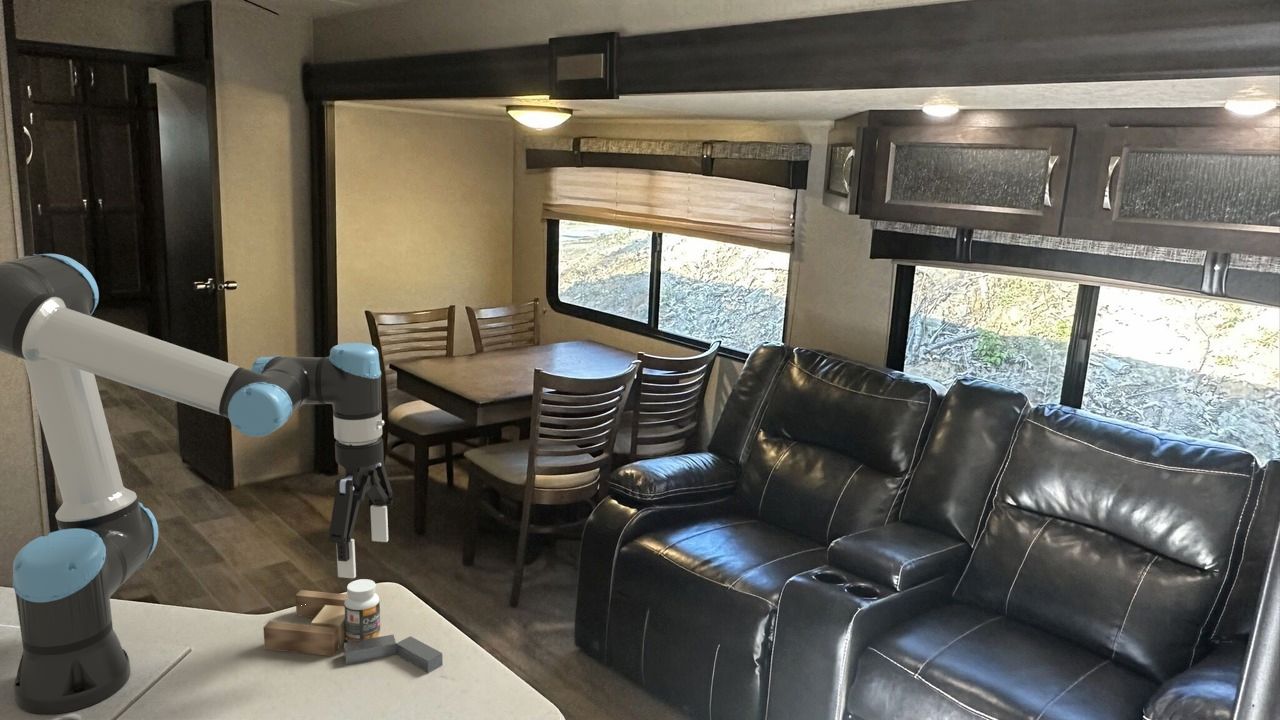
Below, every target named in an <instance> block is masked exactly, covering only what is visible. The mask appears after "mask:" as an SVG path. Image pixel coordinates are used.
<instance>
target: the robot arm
mask: <svg viewBox="0 0 1280 720" xmlns="http://www.w3.org/2000/svg"><path fill="white" fill-rule="evenodd" d="M99 294H100V293H99V287H98V285H97V282H96V280H95V278H94V276H93V275H92V273H91V272H90V271H89V270H88V269H87V268H86V267H85V266H84V265H82V264H81V263H79V262H78V261H76V259H73V258H71V257H70V256H65V255H62V254H57V253H41V254H35V253H34V254H30V255H24V256H22V257H19V258H15V259H11V260H8V261H3V262H0V352H1V353H4V354H7V355H9V356H12V357H17V358H19V359H22V360H23V362H24V366H25V368H26V369H25V370H26V373H27V376H28V380H29V383H30V386H31V390H32V395H33V398H34V401H35V402H34V403H35V405H36V410H37V413H38V416H39V420H40V423H41V427H42V431H43V433H44V438H45V441H46V445H47V448H48V449H47V450H48V452H49V456H50V460H51V463H52V466H53V470H54V474H55V478H56V481H57V484H58V488H59V491H60V496H61V499H62V504H61V505H60V507H59V508H58V510H57V511H56V513H55V520H56V523H57V527H58V530H56V531H51V532H49V533H48V535H46V536H45V535H44V536H42V535H41V536H38V537H37V538H35V539H33V540H31V541H30V542H28V543H27V544H26V545H24V546H23V547H22V548H20V550H19V551H18V553H16V555H15V558H14V560H13V563H12V572H13V574H12V588H13V590H14V593H15V600H16V607H17V614H18V622H19V627H20V628H19V629H20V635H21V636H20V637H21V641H22V642H21V643H22V652H21V653H22V654H21V657H20V660H19V664H18V665H19V666H18V668H17V672H16V677H15V680H14V684H13V690H14V698H15V703H16V704H17V706H18V707H19V708H21V709H22V710H24V711H27V712H29V713H31V714H32V713H33V714H38V715H39V714H43V715H51V714H61V713H68V712H72V711H77V710H80V709H84V708H87V707H90V706H92V705H95V704H97V703H100V702H101V701H104V700H106V699H108V698H109V697H111V696H113V695H114V694H115V693H117V692H118V691H119V690H121V689H122V688H123V687H124V686H125V684H127V682H128V680H129V679H130V676H131V673H132V672H131V662H130V657H129V654H128V652H126V650H125V649H124V648H123V647H122V644H121V641H120V639H119V638H118V636H117V634H116V632H115V629H114V626H113V617H112V607H111V601H110V600H111V596H113V595H114V593H115V592H117V590H118V589H119V588H121V586H122V585H123V584H124V583H125V582H126V581H127V580H129V578H130V577H131V576H132V575H133V574H134V573H135V572H137V571H138V570H139V569H141V568H142V567H143V566H144V565H145V564H146V562H147V561H148V559H150V557H151V555H152V553H154V550H156V547H157V543H158V539H159V525H158V522H157V520H156V517H155V515H154V513H153V512H152V511H151V510H150V509H149V508H148V507H147V508H146V507H144V505H143V503H141V502H139V499H138V497H137V494H136V492H135V491H133V490H131V489H128V488H126V487H125V486H124V483H123V481H122V475H121V472H120V468H119V464H118V460H117V457H116V452H115V449H114V446H113V441H112V437H111V433H110V431H109V425H108V422H107V417H106V414H105V411H104V408H103V407H104V406H103V402H102V399H101V394H100V392H99V388H98V384H97V381H96V379H97V378H96V376H99V377H102V378H105V379H109V380H111V381H114V382H118V383H120V384H124V385H126V386H130V387H132V388H135V389H138V390H142V391H145V392H147V393H148V392H149V393H151V394H155V395H158V396H160V397H164V398H167V399H169V400H173V401H175V402H178V403H182V404H186V405H188V406H191V407H194V408H197V409H201V410H203V411H206V412H209V413H212V414H216V415H218V416H221V417H225V418H227V419H229V422H230V423H231V425H232V426H233V427H234V428H235V429H236V430H237V431H238V432H240V433H241V434H242V435H245V436H248V437H251V438H252V437H253V438H260V437H261V438H262V437H264V436H265V437H266V436H268V435H270V434H273V432H276V431H277V430H278V429H281V428H282V427H283V426H284V425H285V424H286V423H287V422H288V420H289V419H290V417H291V416H292V415H293V414H294V413H295V412H297V410H299V409H300V407H302V406H303V405H327V404H328V405H332V410H333V411H332V414H333V416H332V417H333V418H332V420H333V435H334V436H333V437H334V439H335V440H336V441H335V442H334V452H335V456H334V457H335V462H336V463H337V464H338V465H339V466H341V467H343V469H345V471H344V477H343V479H342V478H337V479H336V480H335V483H334V488H335V489H334V500H333V507H332V512H331V513H332V514H331V520H330V525H329V526H330V527H329V533H328V540H327V541H328V543H332V544H333V543H334V544H336V545H335V546H336V548H335V549H336V560H337V561H336V564H337V577H338V578H347V579H355V578H356V577H357V569H356V568H357V567H356V566H357V565H356V546H355V543H356V542H355V539H354V538H352V537H353V533H354V530H355V525H356V522H357V517H358V513H359V509H360V504H361V503H362V502H363V501H365V497H366V495H368V498H369V499H370V500H371V502H372V503H373V504H371V505H370V524H371V526H370V528H371V542H381V543H388V541H389V527H388V526H389V523H388V522H389V521H388V506H391V505H393V501H394V500H393V490H392V487H391V483H390V480H389V479H390V478H389V477H388V473H387V469H386V466H385V459H384V439H383V437H382V435H383V426H384V425H385V420H384V419H382V416H383V414H382V412H383V411H382V410H383V409H382V386H381V385H382V379H381V378H382V371H381V367H380V366H381V365H380V358H379V357H380V355H379V351H378V349H377V347H375V346H374V345H372V344H370V343H366V342H365V343H364V342H349V343H346V342H344V343H339V344H337V345H334V346H332V348H330V350H329V355H328V356H326V357H319V356H318V357H314V356H310V357H309V356H308V357H307V356H303V357H302V356H284V355H274V356H262V357H259V358H257V359H255V361H253V363H252V367H251V368H250V369H247V368H244V367H241V366H240V365H239V366H238V365H235V364H233V363H231V362H230V363H229V362H227V361H223V360H221V359H219V358H218V359H217V358H215V357H212V356H210V355H207V354H203V353H201V352H199V351H198V352H197V351H195V350H192V349H188V348H186V347H182V346H179V345H176V344H174V343H170V342H168V341H165V340H161V339H159V338H156V337H153V336H150V335H147V334H144V333H141V332H139V331H135V330H133V329H130V328H127V327H124V326H120V325H117V324H115V323H112V322H109V321H107V320H104V319H100V318H97V317H94V316H92V315H93V313H94V312H95V310H96V308H97V307H98V306H97V305H98V304H99V299H100V298H99V297H100V295H99ZM387 505H388V506H387Z"/></svg>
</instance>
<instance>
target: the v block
mask: <svg viewBox="0 0 1280 720" xmlns="http://www.w3.org/2000/svg"><path fill="white" fill-rule="evenodd" d="M343 650H344V653H343V654H344V659H345V660H344V661H345V664H346V665H350V664H351V665H352V664H357V663H360V662H368V661H373V660H377V659H384V658H389V657H390V658H391V657H394V656H395V657H399V658H401V659H402V660H404V661H406V662H407V663H409V664H411V665H413V666H414V667H417V668H418V669H420V670H422V671H424V672H426V673H427V674H429V673H431V672H432V671H435V670H436V669H438V668H440V667H442V666H443V662H444V661H443V652H441V651H439V650H437V649H436V648H434V647H431V646H430V645H428V644H427V643H424V642H422V641H420V640H419V639H416V638H415V637H413V636H411V635H410V636H408V637H406V638H404V639H402V640H400V641H398V642H397V641H396V639H395V635H394V634H388V635H383V636H381V635H380V636H379V637H375V638H370V639H364V640H358V641H352V642H348V641H347V642H343Z"/></svg>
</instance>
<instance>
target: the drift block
mask: <svg viewBox="0 0 1280 720" xmlns="http://www.w3.org/2000/svg"><path fill="white" fill-rule="evenodd" d="M310 625H312V626H322V627H331V628H338V643H339V646H342V644H344V643H345V641H346V632H345V607H344V606H332V605H325V606H324V607H323V609H322V610H321V611H320V612H319V614H318V615H317V616H316V617H313V619H312V621H311V623H310Z"/></svg>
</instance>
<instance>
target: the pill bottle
mask: <svg viewBox="0 0 1280 720" xmlns="http://www.w3.org/2000/svg"><path fill="white" fill-rule="evenodd" d="M376 586H377V585H376V582H375V581H374V580H372V579H366V578H363V579H362V578H361V579H356V580H353V581H351V582H349V583H348V584H347V587H346V594H347V595H348V597H347V598H346V599H345V603H344V607H345V632H346V639H345V641H347V642H352V641H358V640H364V639H370V638H375V637H381V608H380V602H381V601H380V597H379V595H378V593H376V590H377V587H376Z"/></svg>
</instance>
